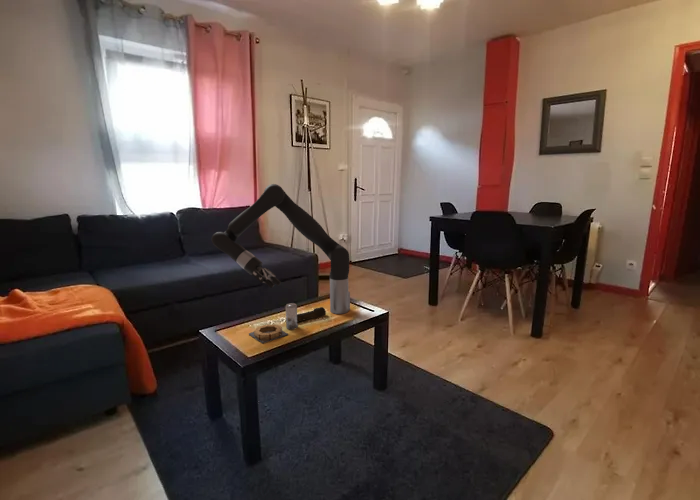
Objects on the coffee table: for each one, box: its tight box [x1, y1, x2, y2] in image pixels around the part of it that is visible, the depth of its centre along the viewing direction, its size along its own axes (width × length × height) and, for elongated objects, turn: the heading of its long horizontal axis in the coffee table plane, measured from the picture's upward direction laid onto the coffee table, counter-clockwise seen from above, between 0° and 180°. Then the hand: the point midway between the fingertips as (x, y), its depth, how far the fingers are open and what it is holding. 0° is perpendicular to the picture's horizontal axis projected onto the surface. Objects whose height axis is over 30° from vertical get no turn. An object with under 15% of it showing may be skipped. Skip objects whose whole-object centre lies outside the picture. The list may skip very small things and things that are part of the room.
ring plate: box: [248, 324, 289, 344], centre depth 155 cm, size 12×12×2 cm
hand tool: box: [297, 306, 327, 323], centre depth 171 cm, size 19×4×5 cm, turn 121°
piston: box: [285, 302, 299, 330], centre depth 162 cm, size 5×5×11 cm
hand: (276, 285), depth 162 cm, fingers open, 8 cm apart
